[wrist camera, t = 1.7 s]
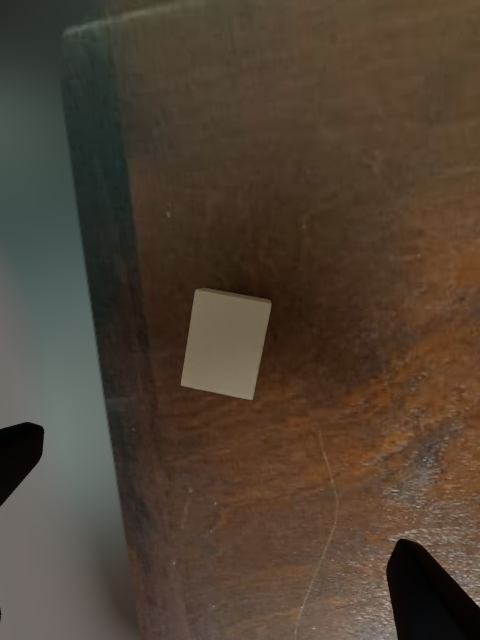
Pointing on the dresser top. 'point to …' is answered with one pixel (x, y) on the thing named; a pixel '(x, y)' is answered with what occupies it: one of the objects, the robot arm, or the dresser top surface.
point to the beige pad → (225, 342)
